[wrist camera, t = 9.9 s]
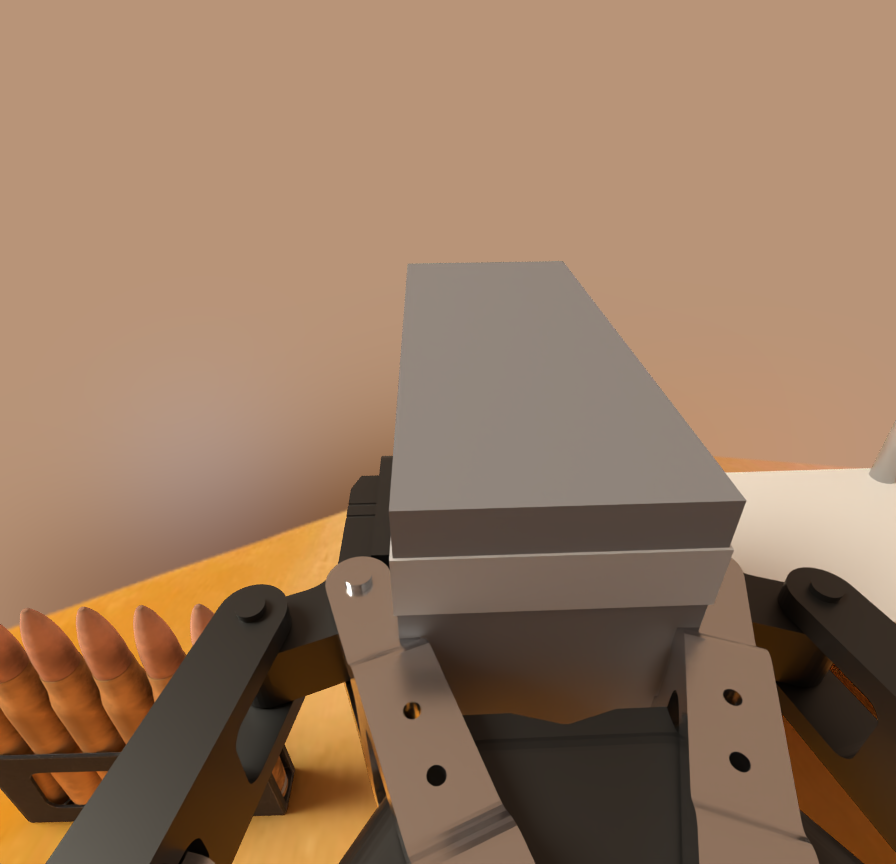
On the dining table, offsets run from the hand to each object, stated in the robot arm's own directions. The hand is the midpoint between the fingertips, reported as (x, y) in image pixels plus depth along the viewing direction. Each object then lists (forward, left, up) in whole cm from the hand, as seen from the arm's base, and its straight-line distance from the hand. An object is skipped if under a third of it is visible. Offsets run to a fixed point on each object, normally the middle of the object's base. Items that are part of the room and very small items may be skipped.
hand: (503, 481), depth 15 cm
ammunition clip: (+14, 0, -17) cm, 22 cm away
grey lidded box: (0, 0, -6) cm, 6 cm away
